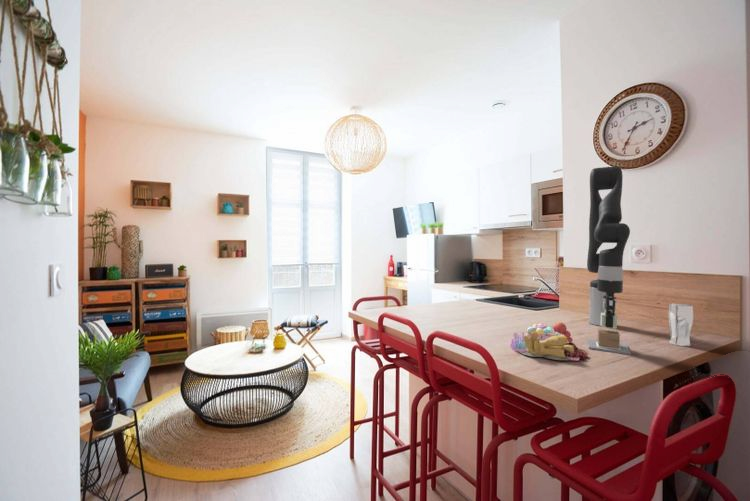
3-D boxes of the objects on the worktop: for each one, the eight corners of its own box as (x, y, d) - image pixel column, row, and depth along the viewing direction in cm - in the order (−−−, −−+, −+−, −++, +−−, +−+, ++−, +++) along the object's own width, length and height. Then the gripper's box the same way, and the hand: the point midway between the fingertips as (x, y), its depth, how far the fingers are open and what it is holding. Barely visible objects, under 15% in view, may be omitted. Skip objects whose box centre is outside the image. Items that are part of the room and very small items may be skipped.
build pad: (587, 340, 133) (587, 339, 133) (626, 345, 127) (626, 344, 127) (588, 348, 122) (589, 346, 122) (630, 354, 116) (630, 352, 116)
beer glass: (693, 347, 126) (694, 307, 125) (668, 344, 130) (669, 304, 129) (690, 343, 131) (692, 304, 131) (666, 340, 135) (668, 302, 135)
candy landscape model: (599, 366, 106) (600, 336, 105) (518, 360, 110) (519, 331, 109) (568, 343, 130) (569, 318, 130) (503, 339, 134) (504, 315, 134)
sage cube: (600, 324, 127) (600, 312, 127) (615, 326, 125) (615, 314, 125) (601, 327, 123) (601, 314, 123) (616, 328, 121) (617, 316, 121)
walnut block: (597, 342, 129) (598, 328, 128) (617, 344, 126) (617, 331, 125) (598, 346, 123) (599, 332, 123) (619, 348, 120) (619, 334, 120)
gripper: (596, 276, 132) (595, 321, 132) (598, 279, 120) (597, 328, 120) (620, 277, 128) (619, 323, 129) (625, 281, 116) (623, 331, 116)
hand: (608, 325), depth 124 cm, fingers closed on sage cube, 4 cm apart
